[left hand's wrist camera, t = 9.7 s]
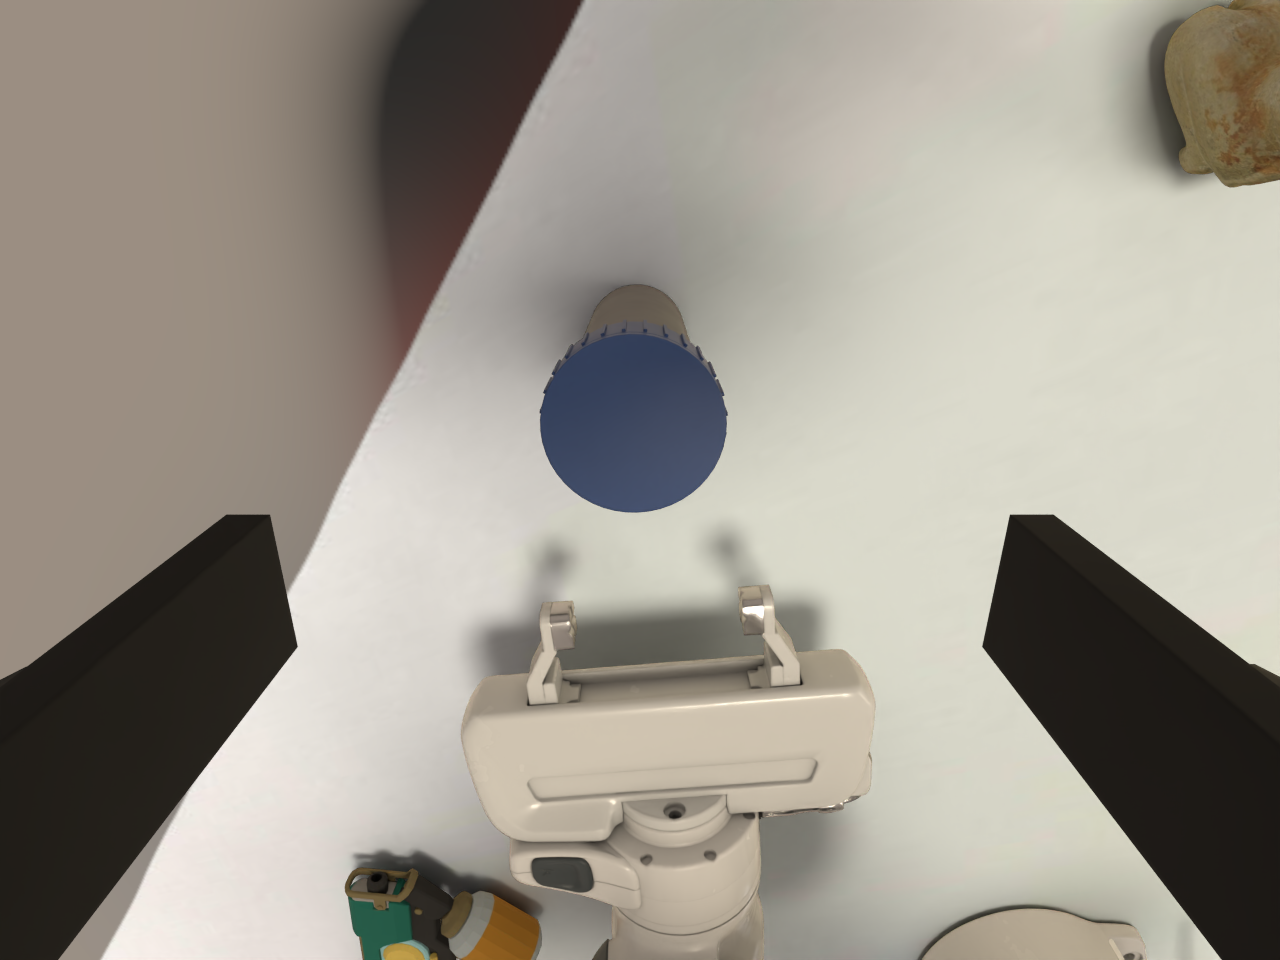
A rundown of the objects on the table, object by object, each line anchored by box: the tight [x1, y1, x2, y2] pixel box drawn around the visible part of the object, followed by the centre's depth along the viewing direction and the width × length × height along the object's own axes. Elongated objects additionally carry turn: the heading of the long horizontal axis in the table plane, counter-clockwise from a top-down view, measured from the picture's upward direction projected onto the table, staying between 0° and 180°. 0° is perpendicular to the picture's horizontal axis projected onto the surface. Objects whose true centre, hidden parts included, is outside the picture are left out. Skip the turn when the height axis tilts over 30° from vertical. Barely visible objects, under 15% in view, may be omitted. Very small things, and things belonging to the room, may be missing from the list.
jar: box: [585, 285, 690, 342], centre depth 28 cm, size 5×5×15 cm
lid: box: [540, 320, 728, 512], centre depth 22 cm, size 6×6×2 cm
